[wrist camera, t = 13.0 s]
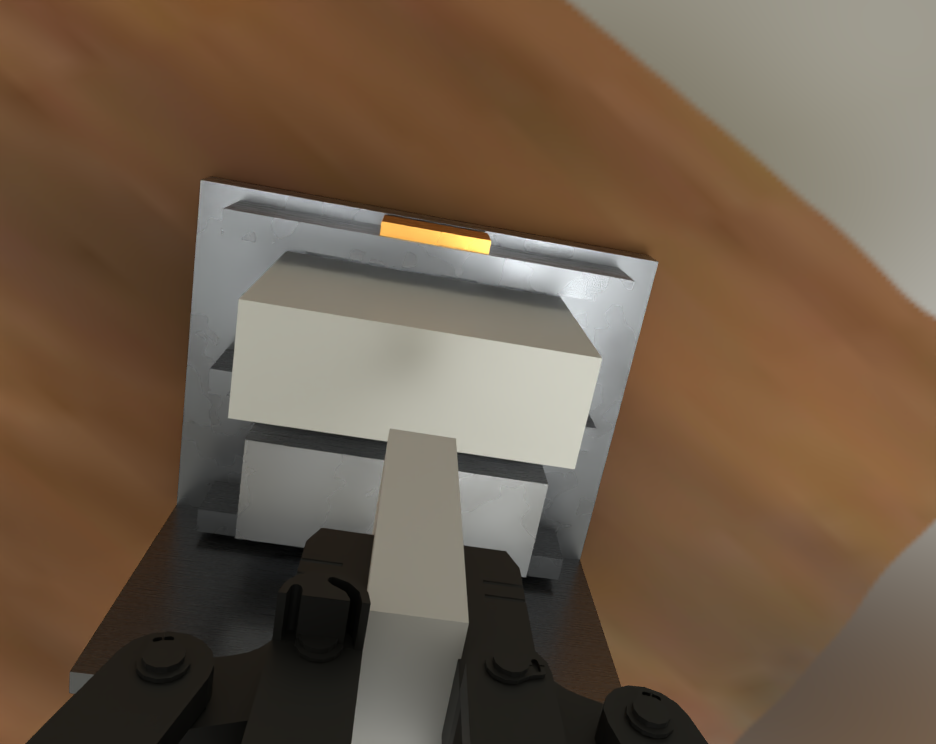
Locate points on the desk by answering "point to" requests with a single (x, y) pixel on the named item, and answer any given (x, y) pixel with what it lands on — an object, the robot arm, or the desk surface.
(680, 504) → the desk surface
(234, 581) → the rack
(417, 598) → the robot arm
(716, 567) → the desk surface
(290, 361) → the beige rectangular block
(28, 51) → the desk surface
